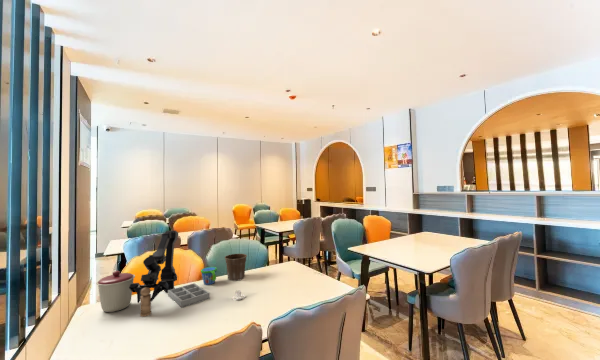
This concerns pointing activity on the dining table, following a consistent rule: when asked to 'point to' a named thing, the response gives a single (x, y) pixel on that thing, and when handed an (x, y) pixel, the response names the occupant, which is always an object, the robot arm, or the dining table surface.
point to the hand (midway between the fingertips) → (144, 302)
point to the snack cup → (209, 275)
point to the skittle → (145, 302)
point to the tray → (188, 295)
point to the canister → (115, 291)
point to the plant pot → (235, 266)
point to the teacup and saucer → (238, 295)
